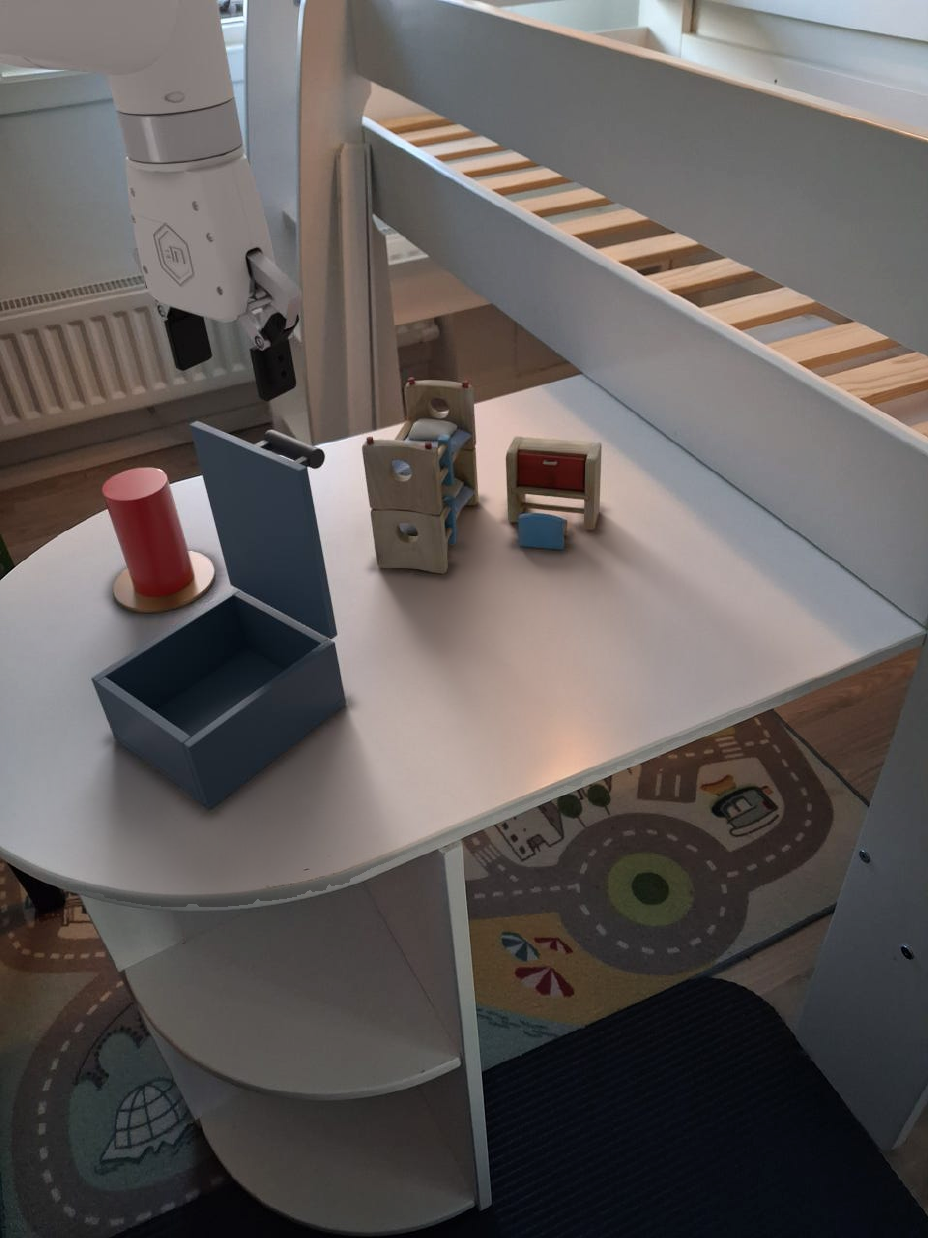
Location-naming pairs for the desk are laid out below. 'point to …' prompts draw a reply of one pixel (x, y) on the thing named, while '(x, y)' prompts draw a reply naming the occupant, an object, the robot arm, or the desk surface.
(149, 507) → the can
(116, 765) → the desk surface
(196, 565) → the coaster
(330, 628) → the lid
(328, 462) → the desk surface
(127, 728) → the blue rectangular box
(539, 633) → the desk surface
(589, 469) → the dollhouse furniture set
